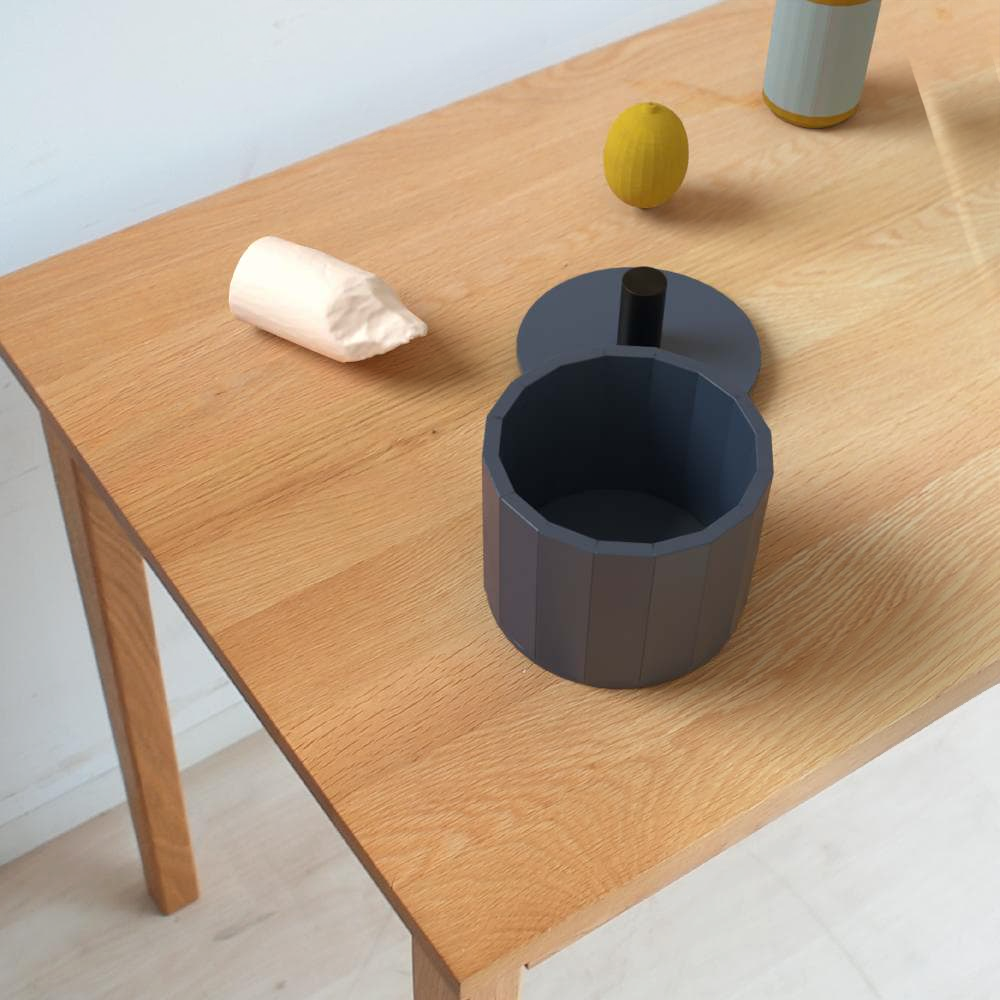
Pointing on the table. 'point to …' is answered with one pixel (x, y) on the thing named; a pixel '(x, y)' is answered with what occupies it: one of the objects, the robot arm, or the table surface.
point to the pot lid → (642, 321)
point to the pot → (622, 513)
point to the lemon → (646, 155)
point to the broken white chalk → (319, 301)
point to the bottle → (818, 59)
